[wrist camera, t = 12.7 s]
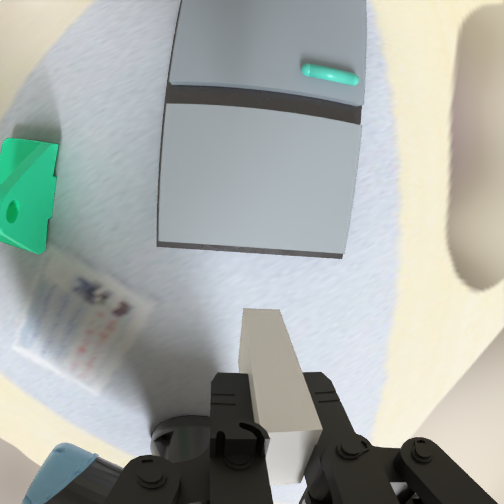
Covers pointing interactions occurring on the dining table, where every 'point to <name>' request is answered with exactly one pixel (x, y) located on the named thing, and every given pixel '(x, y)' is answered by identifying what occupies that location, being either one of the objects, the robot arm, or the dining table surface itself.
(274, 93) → the levelling base
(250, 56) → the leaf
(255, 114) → the panel
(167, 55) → the dining table surface
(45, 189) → the camera mount
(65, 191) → the dining table surface
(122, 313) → the dining table surface
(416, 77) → the dining table surface
